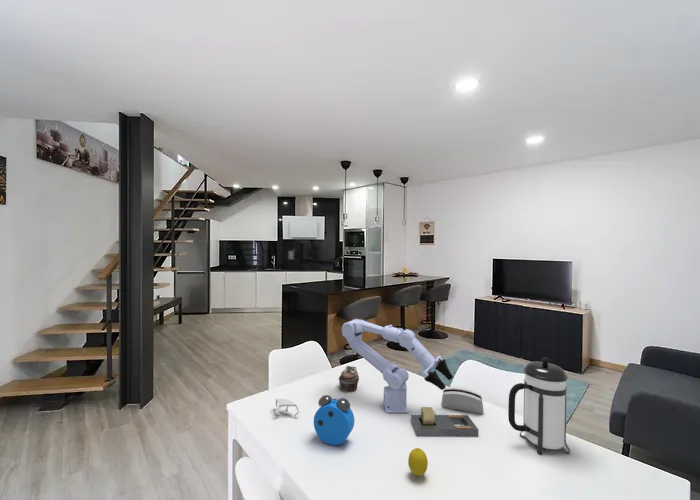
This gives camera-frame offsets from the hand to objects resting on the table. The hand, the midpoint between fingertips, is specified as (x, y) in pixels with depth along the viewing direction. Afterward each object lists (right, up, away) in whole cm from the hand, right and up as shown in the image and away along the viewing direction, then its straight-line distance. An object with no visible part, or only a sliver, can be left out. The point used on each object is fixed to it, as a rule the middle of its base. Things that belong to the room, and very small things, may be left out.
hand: (447, 383), depth 124 cm
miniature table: (-63, -14, +3) cm, 65 cm away
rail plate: (-3, -15, -5) cm, 16 cm away
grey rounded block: (+9, -15, +10) cm, 20 cm away
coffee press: (+27, -15, -14) cm, 35 cm away
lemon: (-18, -14, -30) cm, 38 cm away
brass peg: (-9, -15, -5) cm, 18 cm away
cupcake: (-39, -14, +28) cm, 50 cm away
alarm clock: (-44, -14, -14) cm, 48 cm away
